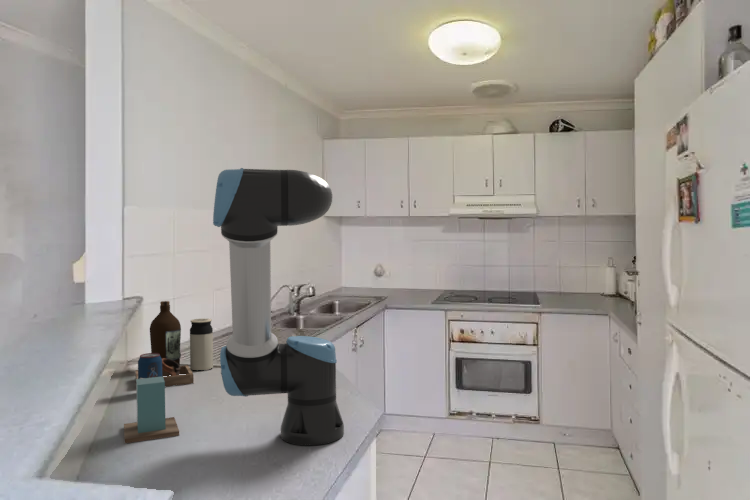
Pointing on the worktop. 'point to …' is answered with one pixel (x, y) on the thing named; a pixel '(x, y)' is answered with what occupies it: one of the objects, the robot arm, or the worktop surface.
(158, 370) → the soda can
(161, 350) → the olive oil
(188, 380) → the mug frame
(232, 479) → the worktop surface
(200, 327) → the travel mug
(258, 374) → the robot arm
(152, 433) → the brown square base plate
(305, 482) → the worktop surface
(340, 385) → the worktop surface
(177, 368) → the pottery mug
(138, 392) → the tall teal pillar
